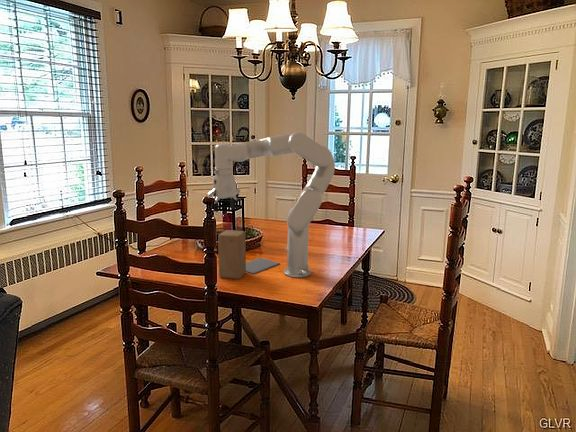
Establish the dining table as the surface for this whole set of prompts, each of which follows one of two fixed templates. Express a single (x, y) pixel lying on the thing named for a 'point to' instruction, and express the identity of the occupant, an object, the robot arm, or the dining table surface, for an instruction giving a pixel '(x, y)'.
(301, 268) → the robot arm
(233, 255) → the wooden block
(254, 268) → the mat
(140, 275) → the dining table surface
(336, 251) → the dining table surface
